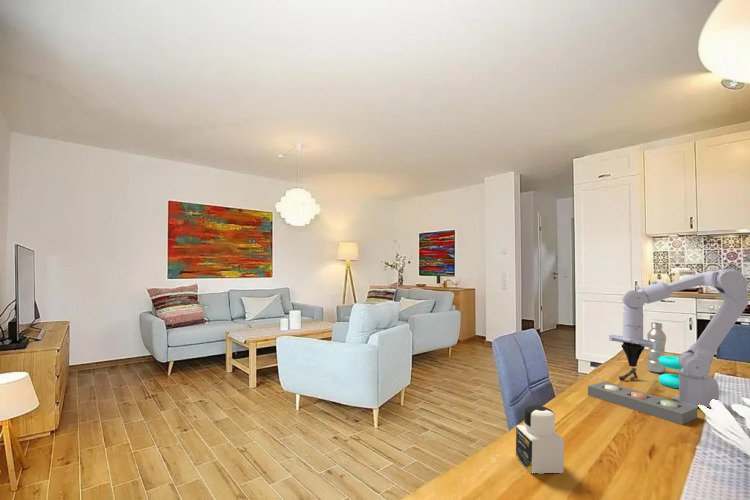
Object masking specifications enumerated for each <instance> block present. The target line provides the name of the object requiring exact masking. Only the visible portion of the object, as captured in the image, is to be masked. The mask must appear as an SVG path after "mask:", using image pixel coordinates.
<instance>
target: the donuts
mask: <svg viewBox="0 0 750 500" xmlns="http://www.w3.org/2000/svg"><path fill="white" fill-rule="evenodd" d="M678 358H679V356H674V355H665V356H661V357H660V358H659V363H660V364H661V365H663V366H665V367H666V369H671V370H677V371H680V370H681V369H682V367H681V366H680V364H679V362H678ZM658 381H659V383H660V384H661V385H663V386H665V387H669V388H673V389H677V390H679V374H677V373H663V374H662V373H661V374H660V375H659V376H658Z"/></svg>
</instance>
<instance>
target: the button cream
mask: <svg viewBox="0 0 750 500" xmlns="http://www.w3.org/2000/svg"><path fill="white" fill-rule="evenodd" d="M605 389H608V390H612V391H615V392H616V391H619V387H617V386H614V385H605Z"/></svg>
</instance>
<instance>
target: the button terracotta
mask: <svg viewBox="0 0 750 500" xmlns="http://www.w3.org/2000/svg"><path fill="white" fill-rule="evenodd" d="M631 396H632V397H636V398H639V399H643V400H645V399H647V395H645V394H643V393H638V392H631Z"/></svg>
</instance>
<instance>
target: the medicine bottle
mask: <svg viewBox="0 0 750 500" xmlns="http://www.w3.org/2000/svg"><path fill="white" fill-rule="evenodd" d="M523 413H524V414H523V415H524V419H523V420H524V421H523V424H517V425H516V426H515V428H516V429H515V431H516V432H515V457H516V458H517V459H518V461H519V462H520V463H521V464H522V465H523V467H525V469H526V470H527V471H528V473H529V474H531V473H532V474H531V475H536V474H535V473H538V474H537V475H543V474H544V473H559V474H564V469H565V467H564V464H565V463H564V462H565V461H564V459H565V456H564V455H565V453H564V452H565V440H564V438H563V437H562V436H560V434H558V433H557V432H555V431H556V430H555V429H556V414H555V412H554V411H553V410H552V409H550V408H548V407H546V406H542V405H528V406H526V407H525V408H524V411H523ZM533 473H534V474H533ZM544 475H545V474H544Z"/></svg>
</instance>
